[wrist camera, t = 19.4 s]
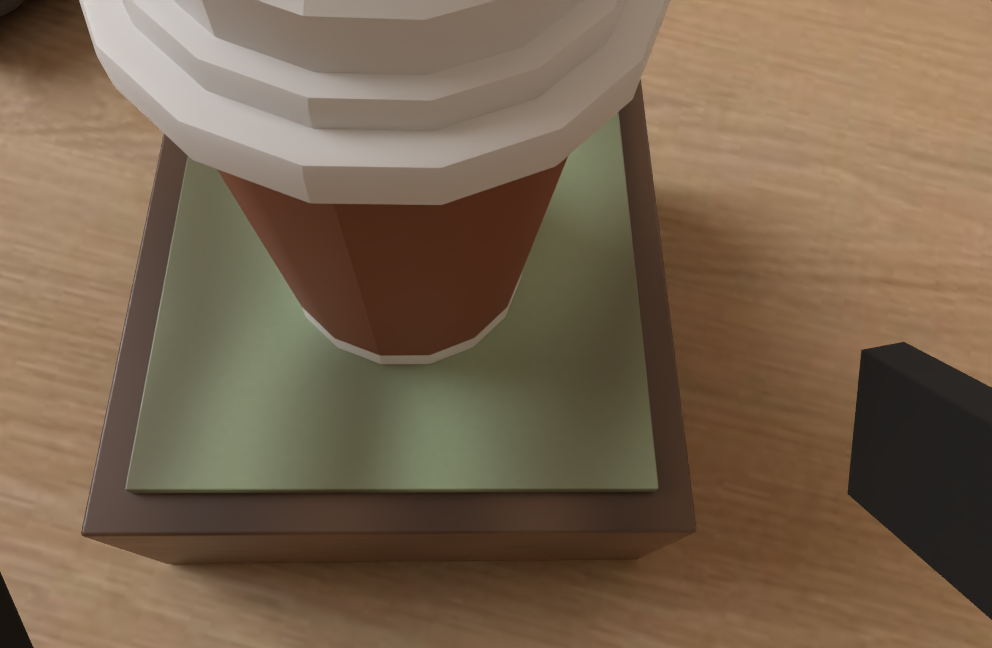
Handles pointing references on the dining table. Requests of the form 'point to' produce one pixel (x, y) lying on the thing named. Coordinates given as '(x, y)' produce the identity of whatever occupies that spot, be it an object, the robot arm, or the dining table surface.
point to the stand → (398, 397)
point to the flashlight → (8, 6)
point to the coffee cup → (384, 139)
